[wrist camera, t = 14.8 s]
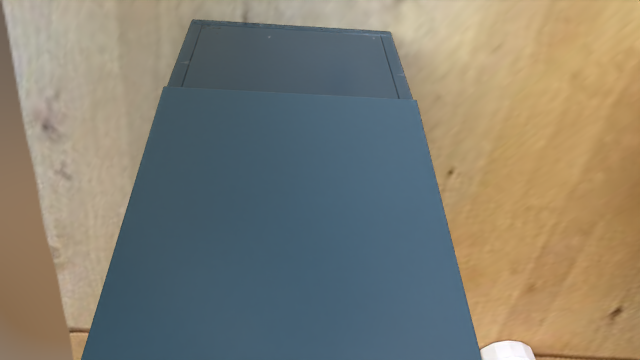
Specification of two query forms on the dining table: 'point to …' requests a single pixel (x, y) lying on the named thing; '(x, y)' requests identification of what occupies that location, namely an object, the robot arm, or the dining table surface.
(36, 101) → the dining table surface
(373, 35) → the tea tin
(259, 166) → the tin lid
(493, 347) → the white cup
